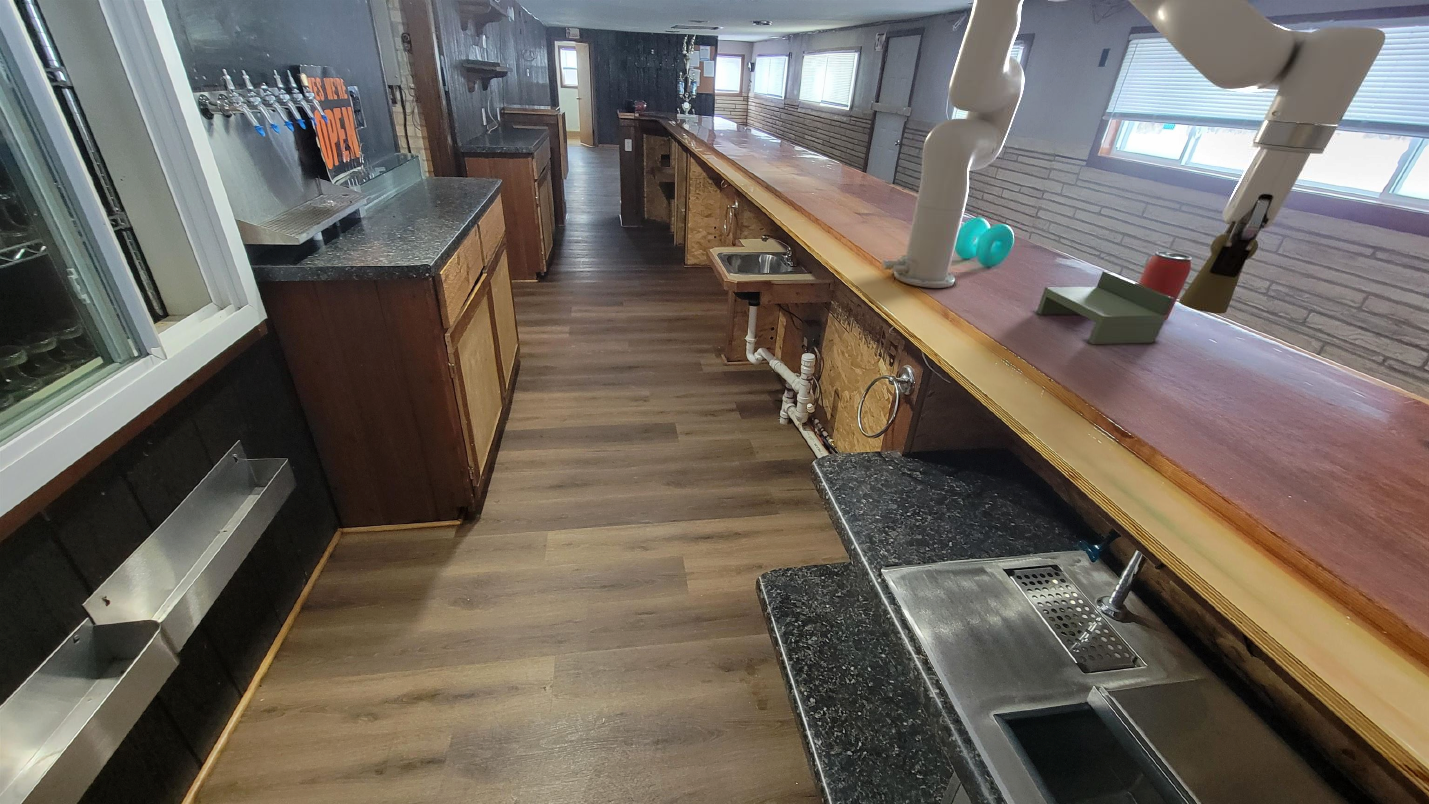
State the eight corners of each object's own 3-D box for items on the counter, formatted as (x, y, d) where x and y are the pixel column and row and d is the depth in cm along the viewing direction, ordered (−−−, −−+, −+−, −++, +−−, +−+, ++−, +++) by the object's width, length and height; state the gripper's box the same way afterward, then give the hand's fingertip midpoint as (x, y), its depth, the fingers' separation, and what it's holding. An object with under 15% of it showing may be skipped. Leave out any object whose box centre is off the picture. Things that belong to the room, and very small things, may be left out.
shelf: (1092, 344, 95) (1111, 299, 91) (1036, 312, 108) (1050, 271, 104) (1154, 342, 97) (1175, 298, 93) (1091, 311, 110) (1107, 271, 106)
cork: (1214, 315, 84) (1254, 242, 78) (1171, 301, 89) (1206, 231, 83) (1234, 310, 87) (1274, 239, 81) (1191, 297, 91) (1227, 228, 85)
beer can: (1153, 312, 111) (1181, 251, 105) (1174, 324, 105) (1204, 261, 99) (1119, 309, 111) (1144, 249, 105) (1137, 322, 106) (1165, 258, 100)
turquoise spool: (977, 255, 144) (988, 215, 139) (1009, 266, 136) (1022, 224, 131) (947, 258, 140) (957, 217, 135) (978, 270, 132) (990, 226, 127)
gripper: (1250, 132, 83) (1190, 254, 93) (1261, 138, 71) (1191, 277, 80) (1317, 138, 80) (1247, 264, 89) (1341, 145, 67) (1258, 290, 77)
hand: (1221, 269), depth 85 cm, fingers closed on cork, 5 cm apart
